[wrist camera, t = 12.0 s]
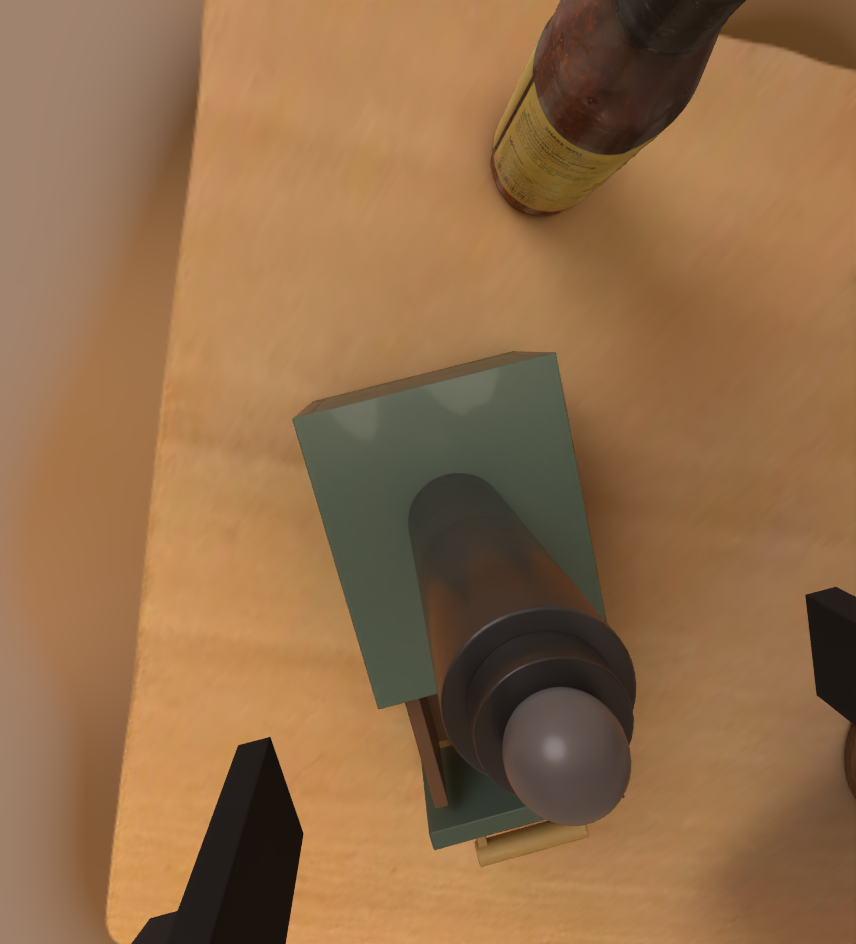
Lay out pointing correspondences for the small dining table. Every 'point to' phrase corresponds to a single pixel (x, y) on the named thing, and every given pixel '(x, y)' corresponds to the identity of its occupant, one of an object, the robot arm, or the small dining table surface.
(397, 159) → the small dining table surface
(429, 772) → the drawer
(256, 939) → the robot arm
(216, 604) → the small dining table surface
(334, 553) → the cabinet
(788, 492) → the small dining table surface
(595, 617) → the pepper mill
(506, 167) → the sauce bottle
